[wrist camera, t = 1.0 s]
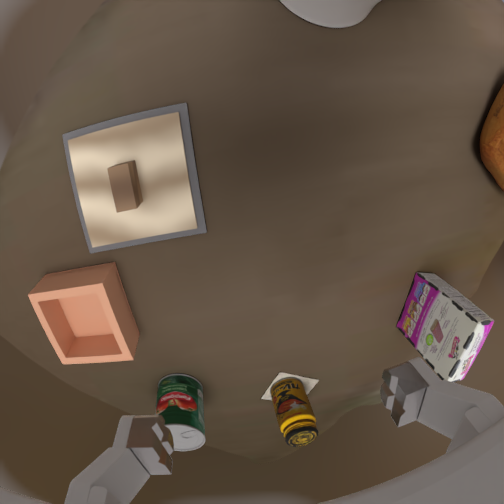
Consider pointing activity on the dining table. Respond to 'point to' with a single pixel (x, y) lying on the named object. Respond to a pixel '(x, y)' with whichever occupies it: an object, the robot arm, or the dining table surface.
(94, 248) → the mat
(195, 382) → the canned tomato
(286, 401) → the condiment
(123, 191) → the lid
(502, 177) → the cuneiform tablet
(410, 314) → the candy bar box
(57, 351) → the rectangular open box
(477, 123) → the dining table surface
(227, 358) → the dining table surface
